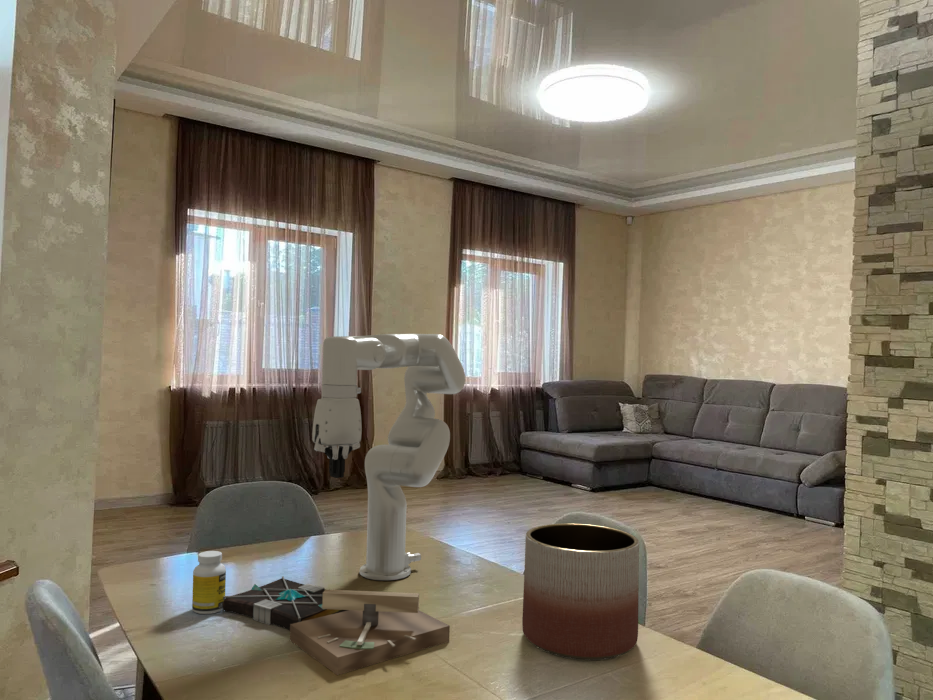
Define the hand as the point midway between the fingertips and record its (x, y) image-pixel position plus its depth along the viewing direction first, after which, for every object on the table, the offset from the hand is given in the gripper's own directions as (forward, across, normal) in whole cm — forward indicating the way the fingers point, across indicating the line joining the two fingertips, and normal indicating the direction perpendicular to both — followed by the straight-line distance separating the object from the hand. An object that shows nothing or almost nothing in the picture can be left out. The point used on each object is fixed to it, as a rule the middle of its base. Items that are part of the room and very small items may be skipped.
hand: (336, 476), depth 156 cm
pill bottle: (+27, +24, -10) cm, 37 cm away
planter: (+27, -28, +46) cm, 60 cm away
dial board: (+27, +5, +23) cm, 36 cm away
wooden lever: (+24, +8, +26) cm, 36 cm away
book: (+28, +10, 0) cm, 30 cm away
